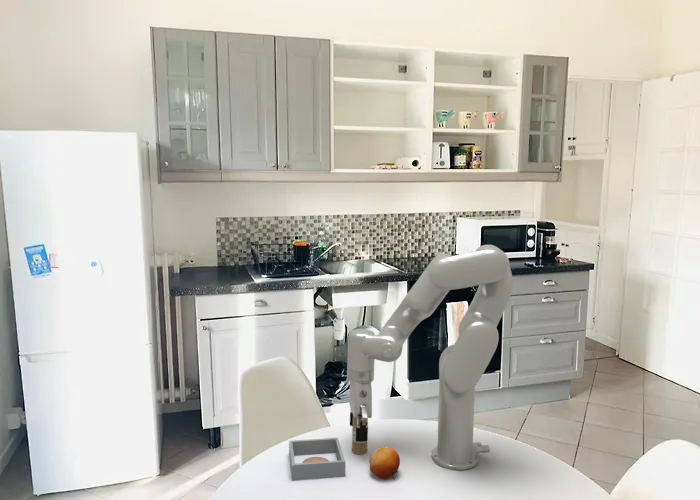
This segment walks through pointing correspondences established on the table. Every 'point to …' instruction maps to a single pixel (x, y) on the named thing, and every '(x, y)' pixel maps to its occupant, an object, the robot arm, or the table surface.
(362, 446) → the sprinkles bottle
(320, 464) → the grey square tray
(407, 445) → the table surface
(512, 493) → the table surface
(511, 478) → the table surface
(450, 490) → the table surface
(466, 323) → the robot arm
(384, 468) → the fruit
